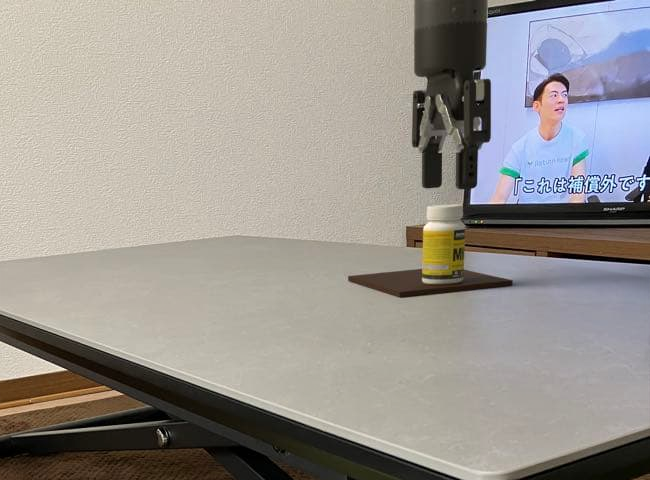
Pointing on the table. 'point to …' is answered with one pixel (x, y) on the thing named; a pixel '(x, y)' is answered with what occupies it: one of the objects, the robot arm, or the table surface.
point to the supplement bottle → (443, 245)
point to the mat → (412, 283)
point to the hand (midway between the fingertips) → (448, 188)
